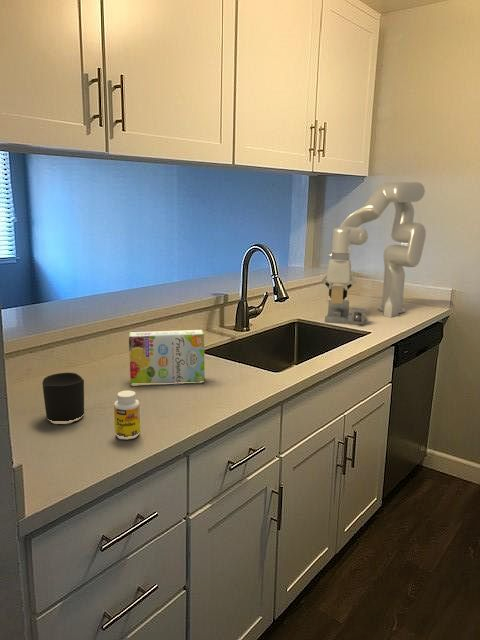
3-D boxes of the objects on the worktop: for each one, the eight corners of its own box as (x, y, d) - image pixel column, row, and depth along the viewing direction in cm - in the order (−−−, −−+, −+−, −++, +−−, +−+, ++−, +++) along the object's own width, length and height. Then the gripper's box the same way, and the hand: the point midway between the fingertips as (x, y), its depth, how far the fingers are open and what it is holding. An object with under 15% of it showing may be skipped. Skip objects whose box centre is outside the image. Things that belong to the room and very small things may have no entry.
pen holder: (92, 411, 132) (90, 374, 130) (74, 427, 123) (72, 387, 121) (57, 408, 134) (54, 371, 132) (37, 424, 125) (34, 384, 123)
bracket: (328, 316, 241) (329, 300, 239) (365, 319, 236) (366, 302, 235) (324, 322, 229) (325, 305, 228) (363, 325, 225) (365, 308, 223)
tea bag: (398, 315, 245) (400, 294, 243) (391, 317, 240) (392, 296, 238) (390, 314, 247) (392, 293, 245) (383, 316, 243) (385, 295, 240)
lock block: (332, 299, 236) (333, 285, 234) (344, 300, 235) (344, 286, 233) (330, 302, 229) (331, 288, 228) (342, 303, 228) (343, 288, 227)
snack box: (202, 377, 159) (202, 328, 155) (204, 384, 153) (204, 333, 150) (130, 380, 155) (128, 330, 151) (130, 387, 150) (128, 336, 146)
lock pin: (355, 315, 235) (355, 307, 234) (363, 316, 234) (364, 308, 234) (352, 322, 222) (353, 314, 221) (361, 323, 221) (361, 314, 220)
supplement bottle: (113, 441, 117) (111, 398, 114) (117, 430, 122) (115, 389, 120) (138, 441, 117) (137, 398, 115) (141, 430, 123) (140, 388, 120)
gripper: (319, 256, 226) (317, 298, 231) (359, 258, 222) (356, 301, 226) (321, 254, 233) (319, 295, 238) (361, 257, 229) (358, 298, 233)
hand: (337, 297), depth 232 cm, fingers closed on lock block, 5 cm apart
